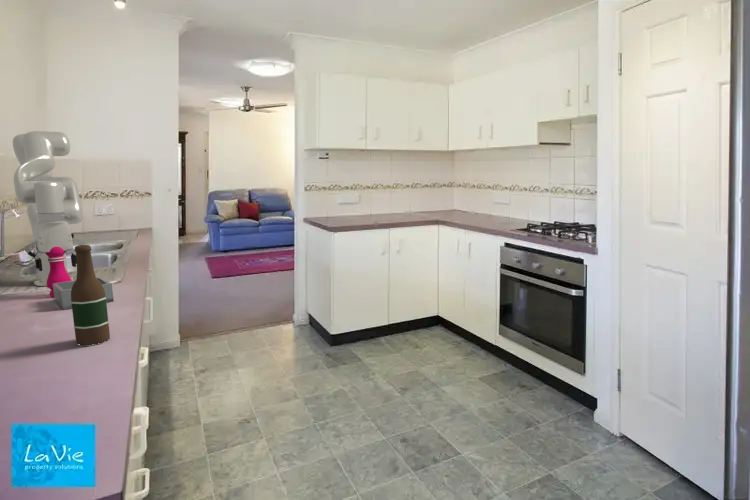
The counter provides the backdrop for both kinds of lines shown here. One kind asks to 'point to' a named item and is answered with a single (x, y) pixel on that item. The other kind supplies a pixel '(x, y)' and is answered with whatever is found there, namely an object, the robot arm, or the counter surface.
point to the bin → (64, 289)
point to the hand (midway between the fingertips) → (57, 268)
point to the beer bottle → (88, 302)
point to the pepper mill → (56, 268)
